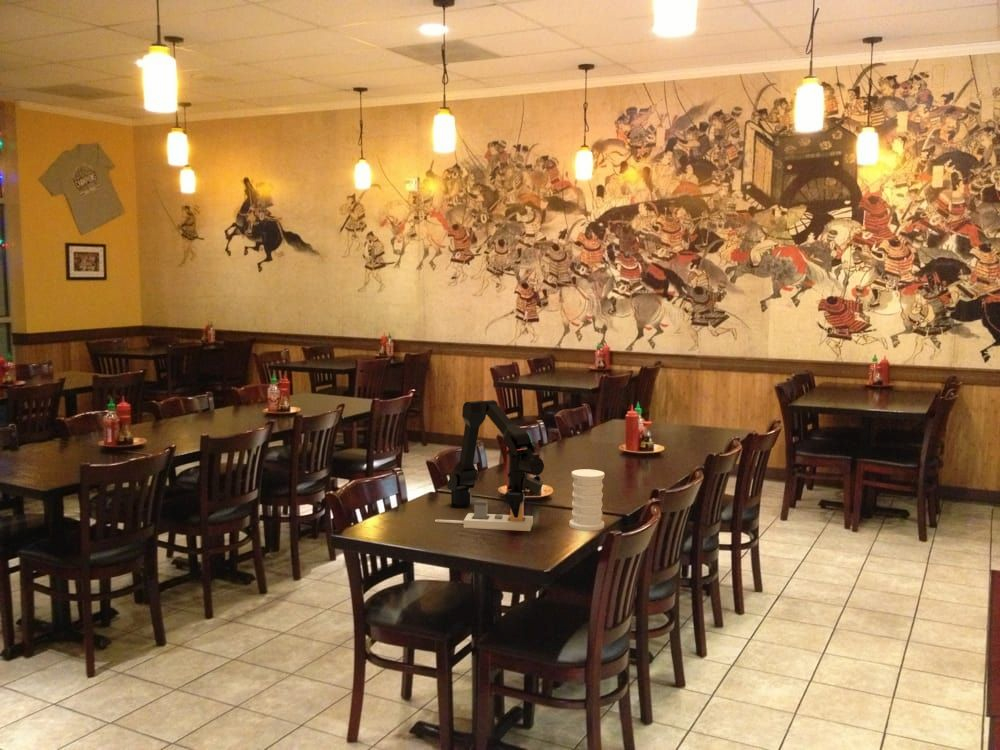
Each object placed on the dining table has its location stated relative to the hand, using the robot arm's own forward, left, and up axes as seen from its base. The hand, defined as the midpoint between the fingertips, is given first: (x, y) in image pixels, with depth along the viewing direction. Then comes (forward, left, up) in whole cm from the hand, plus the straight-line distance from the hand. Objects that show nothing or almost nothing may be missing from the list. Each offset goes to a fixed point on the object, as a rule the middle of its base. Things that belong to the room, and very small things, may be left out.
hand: (516, 516), depth 292 cm
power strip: (-11, 0, -4) cm, 12 cm away
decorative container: (+23, +5, -4) cm, 24 cm away
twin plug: (-12, 0, -4) cm, 13 cm away
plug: (0, 0, -2) cm, 3 cm away
